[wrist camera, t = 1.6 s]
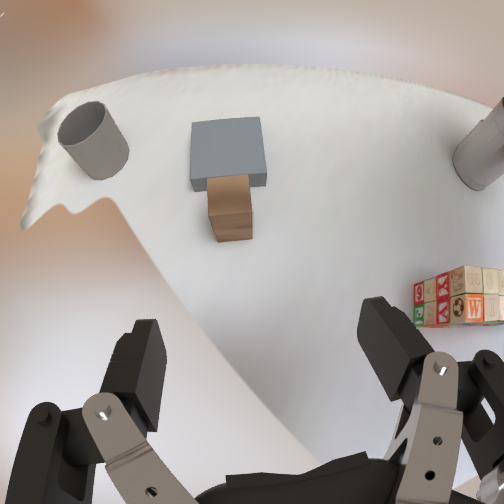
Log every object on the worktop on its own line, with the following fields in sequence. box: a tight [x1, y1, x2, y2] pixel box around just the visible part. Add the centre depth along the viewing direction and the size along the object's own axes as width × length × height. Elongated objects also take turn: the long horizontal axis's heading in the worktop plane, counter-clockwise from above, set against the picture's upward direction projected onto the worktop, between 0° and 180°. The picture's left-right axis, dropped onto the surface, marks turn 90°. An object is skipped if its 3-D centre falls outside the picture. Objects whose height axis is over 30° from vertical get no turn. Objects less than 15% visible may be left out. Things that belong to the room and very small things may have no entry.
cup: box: [57, 101, 129, 180], centre depth 37 cm, size 8×8×10 cm
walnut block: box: [207, 174, 252, 242], centre depth 35 cm, size 4×4×9 cm
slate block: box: [190, 117, 267, 192], centre depth 40 cm, size 10×10×4 cm
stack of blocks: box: [413, 265, 504, 328], centre depth 30 cm, size 21×6×12 cm, turn 84°
